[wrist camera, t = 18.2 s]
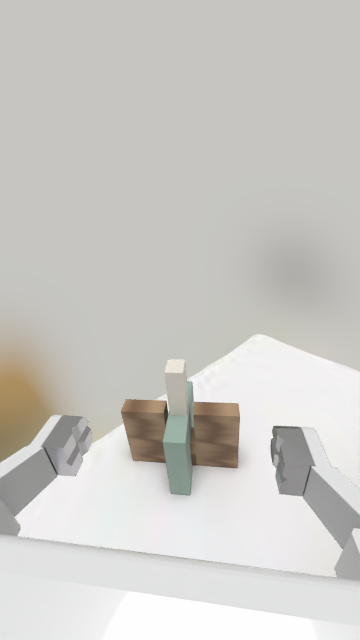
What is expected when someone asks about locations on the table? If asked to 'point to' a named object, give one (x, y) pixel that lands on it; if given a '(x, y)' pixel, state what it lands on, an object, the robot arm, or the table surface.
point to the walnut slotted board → (206, 437)
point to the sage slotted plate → (178, 427)
